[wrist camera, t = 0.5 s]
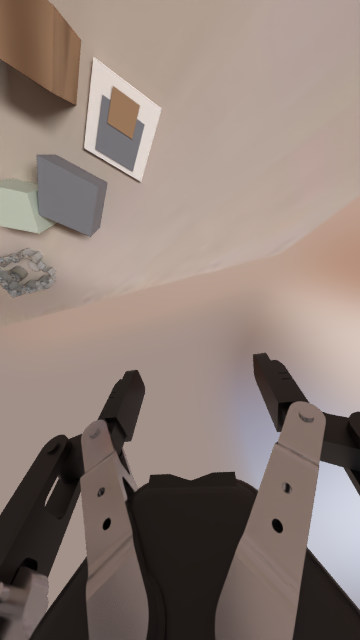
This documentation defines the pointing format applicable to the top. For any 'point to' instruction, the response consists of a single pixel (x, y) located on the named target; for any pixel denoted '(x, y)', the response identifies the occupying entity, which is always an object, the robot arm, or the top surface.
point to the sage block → (21, 206)
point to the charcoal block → (70, 194)
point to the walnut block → (40, 45)
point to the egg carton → (25, 273)
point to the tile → (119, 122)
